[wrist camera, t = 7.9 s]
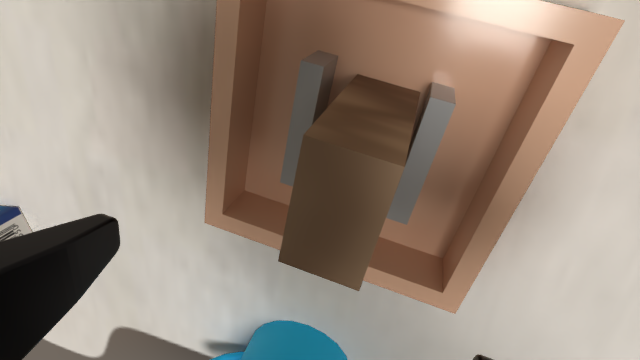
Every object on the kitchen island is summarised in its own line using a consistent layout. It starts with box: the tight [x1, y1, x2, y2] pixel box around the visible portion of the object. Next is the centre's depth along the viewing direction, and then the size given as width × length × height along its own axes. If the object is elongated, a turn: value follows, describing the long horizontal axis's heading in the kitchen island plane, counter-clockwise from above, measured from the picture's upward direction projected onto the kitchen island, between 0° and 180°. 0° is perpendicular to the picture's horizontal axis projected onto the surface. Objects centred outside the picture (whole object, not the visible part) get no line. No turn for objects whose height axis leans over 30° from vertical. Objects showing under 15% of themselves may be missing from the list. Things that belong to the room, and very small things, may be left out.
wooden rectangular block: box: [278, 74, 420, 291], centre depth 15 cm, size 3×5×8 cm, turn 168°
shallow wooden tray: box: [205, 0, 625, 314], centre depth 18 cm, size 14×14×4 cm
